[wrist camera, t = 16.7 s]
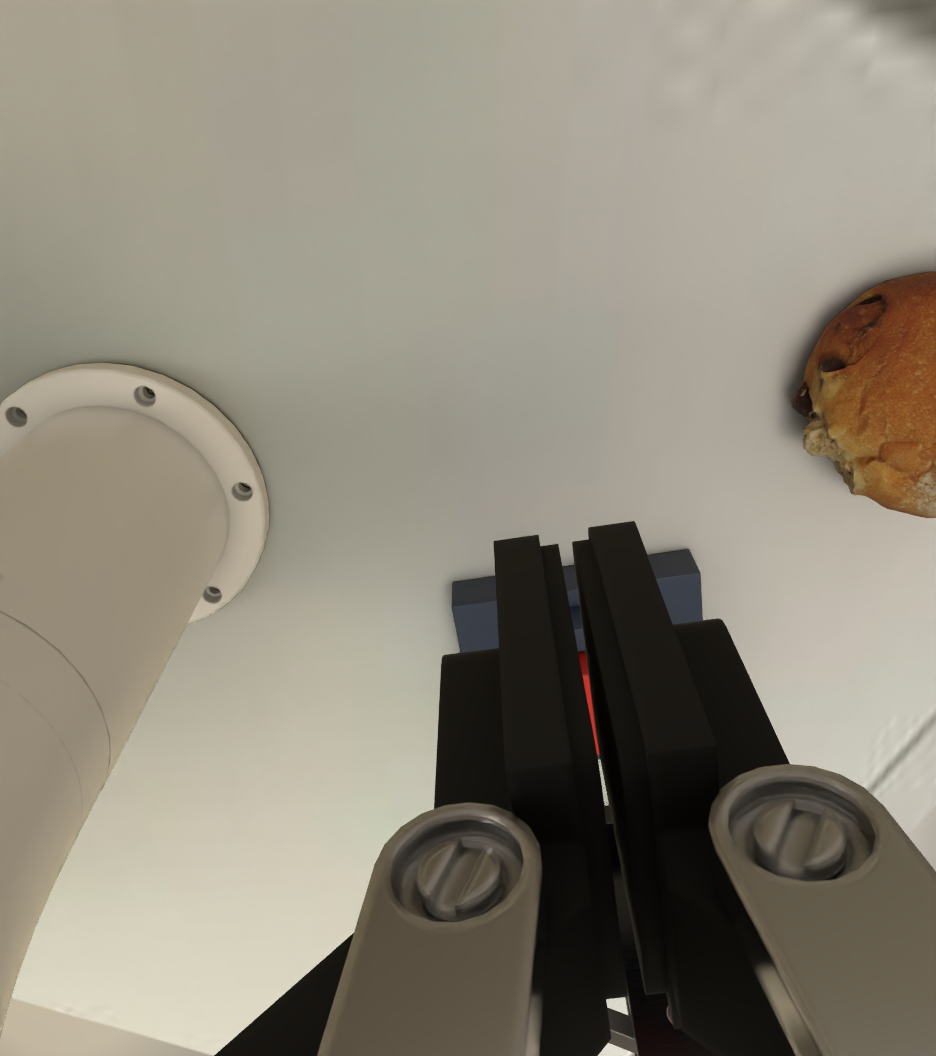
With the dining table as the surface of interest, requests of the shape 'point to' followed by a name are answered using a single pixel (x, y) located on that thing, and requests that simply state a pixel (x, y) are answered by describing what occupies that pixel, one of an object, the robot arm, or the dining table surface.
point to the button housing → (574, 601)
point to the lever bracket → (656, 1040)
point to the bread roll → (878, 395)
